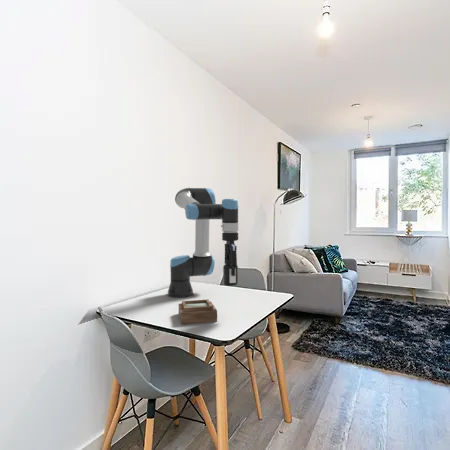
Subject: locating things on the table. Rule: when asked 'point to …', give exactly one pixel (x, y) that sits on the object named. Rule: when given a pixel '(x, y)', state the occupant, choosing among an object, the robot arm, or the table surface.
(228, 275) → the supplement bottle
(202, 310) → the stand
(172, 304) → the table surface
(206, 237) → the robot arm
